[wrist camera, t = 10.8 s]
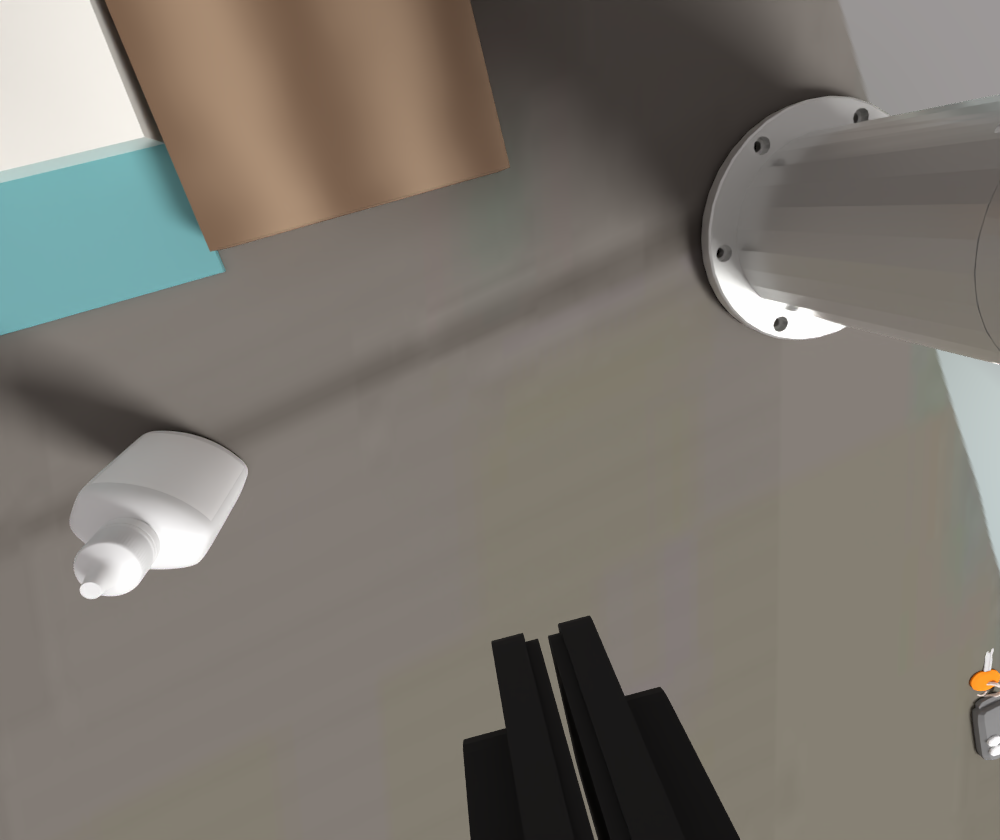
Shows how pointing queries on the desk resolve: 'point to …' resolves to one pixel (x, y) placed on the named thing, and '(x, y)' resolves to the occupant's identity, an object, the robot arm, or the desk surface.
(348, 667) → the desk surface
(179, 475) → the eye dropper bottle
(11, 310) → the mat
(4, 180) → the tile
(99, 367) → the desk surface
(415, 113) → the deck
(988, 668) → the key chain
